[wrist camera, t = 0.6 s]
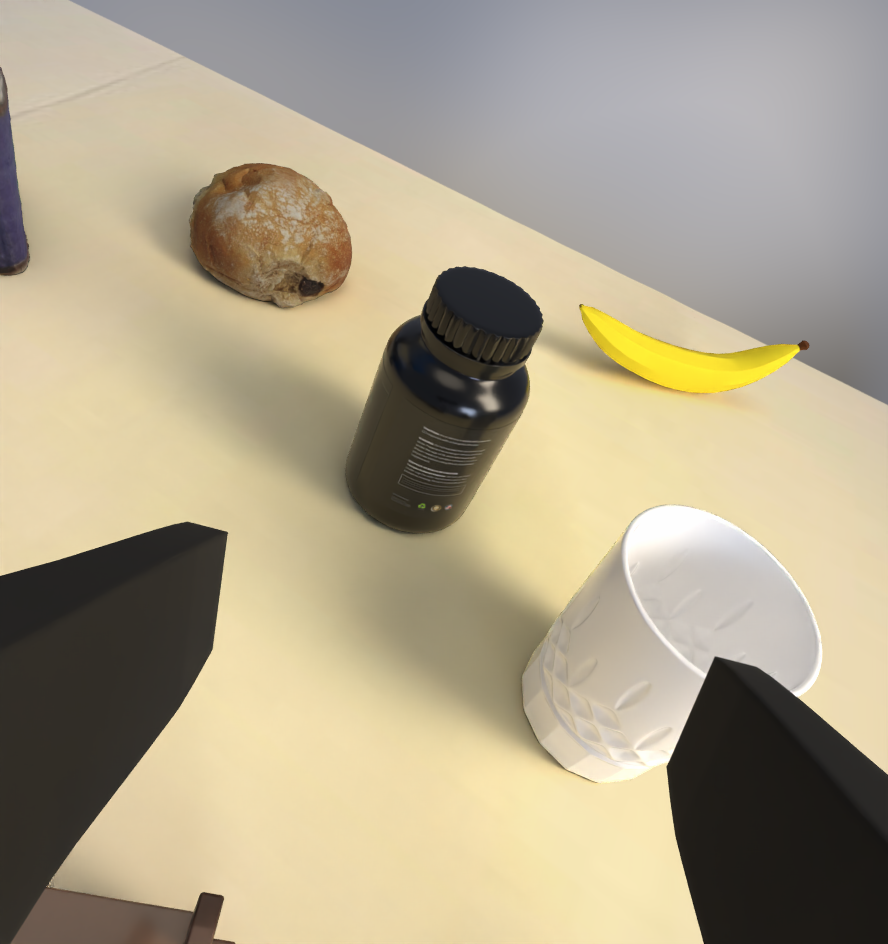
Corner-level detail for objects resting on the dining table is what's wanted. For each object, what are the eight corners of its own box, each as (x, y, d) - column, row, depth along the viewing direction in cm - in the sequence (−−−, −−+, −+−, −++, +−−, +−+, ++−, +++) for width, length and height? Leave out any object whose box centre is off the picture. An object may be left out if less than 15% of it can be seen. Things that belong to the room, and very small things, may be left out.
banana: (543, 347, 50) (584, 274, 45) (747, 391, 56) (800, 330, 51) (552, 373, 48) (595, 300, 43) (762, 415, 54) (819, 355, 49)
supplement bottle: (488, 492, 38) (591, 320, 29) (419, 561, 33) (519, 379, 25) (394, 420, 39) (468, 236, 31) (315, 477, 34) (377, 277, 26)
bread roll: (216, 348, 43) (261, 286, 37) (148, 204, 43) (182, 118, 37) (340, 320, 49) (396, 263, 43) (280, 194, 50) (328, 120, 43)
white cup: (473, 698, 29) (583, 573, 22) (563, 600, 34) (675, 473, 27) (617, 843, 27) (788, 754, 20) (690, 713, 32) (844, 608, 25)
